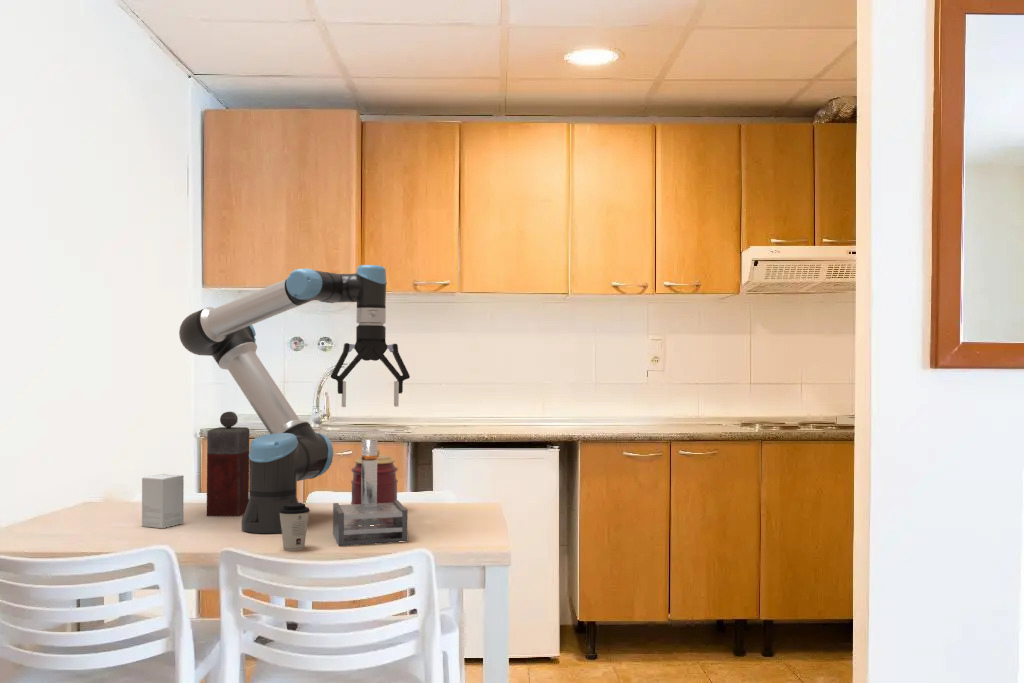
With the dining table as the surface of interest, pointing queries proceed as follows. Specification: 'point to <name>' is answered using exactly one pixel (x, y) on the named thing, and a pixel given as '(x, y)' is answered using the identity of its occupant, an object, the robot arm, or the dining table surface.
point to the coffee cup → (294, 525)
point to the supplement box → (162, 500)
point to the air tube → (369, 472)
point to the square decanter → (227, 468)
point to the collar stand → (369, 523)
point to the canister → (384, 480)
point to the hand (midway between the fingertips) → (370, 406)
